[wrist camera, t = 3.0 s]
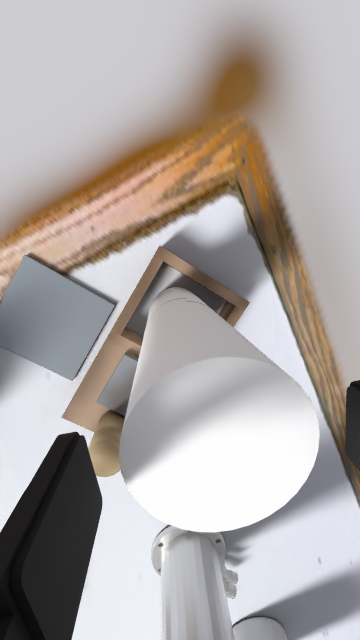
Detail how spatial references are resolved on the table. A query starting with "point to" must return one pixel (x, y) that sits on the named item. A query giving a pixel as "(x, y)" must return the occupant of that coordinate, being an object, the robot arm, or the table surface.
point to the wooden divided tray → (128, 367)
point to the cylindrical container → (212, 423)
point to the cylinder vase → (259, 629)
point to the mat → (50, 318)
